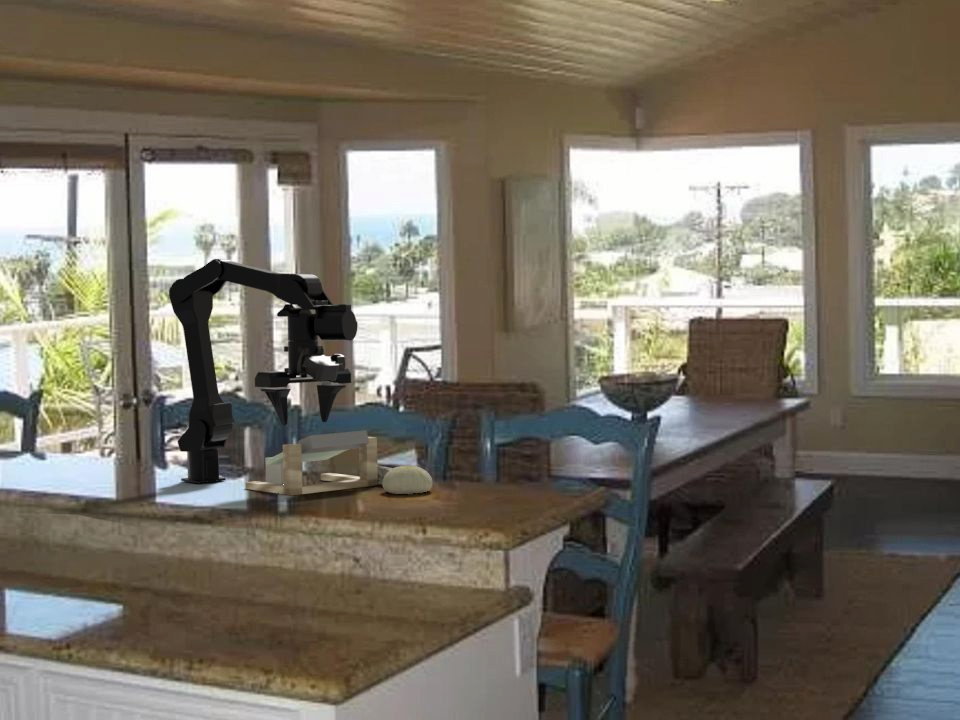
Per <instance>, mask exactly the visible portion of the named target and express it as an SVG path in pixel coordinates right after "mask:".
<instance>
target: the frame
mask: <svg viewBox="0 0 960 720" xmlns="http://www.w3.org/2000/svg"><path fill="white" fill-rule="evenodd" d="M368 439H369V443H368V444H366V445H364V446H362V447H359V448H358V452H359V454H358V458H359V463H358V464H359V467H358V468H359V476H357V475H351V474H343V473H342V474H341V473H335V472H334V473H333V472H327V473H326V472H325V473H320V480H321V481H324V482H321V483H313V484H305V485H303V462H302V451H301V444H298V443H287V444H282V452H283V482H284V485H280V484H273V483H266V481H258V480H254V481H246V482H245V489H246V490H250V491H251V490H253V491H259V492H265V493H273V494H278V493H279V494H280V495H285V494H286V496H299V495H306V494H314V493H316V494H317V493H321V492H331V491H340V490H348V489H357V488H365V487H373V486H379V485H378V472H377V465H378V437H374V436H368Z"/></svg>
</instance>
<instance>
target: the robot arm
mask: <svg viewBox="0 0 960 720" xmlns="http://www.w3.org/2000/svg"><path fill="white" fill-rule="evenodd" d="M227 282H228V283H233V284H237V285H241V286H245V287H248V288H252V289H256V290H260V291H265V292H268V293H270V294H272V295H273V296H274V297H276V298H277V299H279V300H280V301H283V302H285V304H284V305H283V307H282V308H281V309H280V310H279V311H278V312H277V314H276V316H277V317H278V318H279V317H281V318H283V317H285V318H286V317H287V345H286V346H283V352H284V353H286V352H287V359H288V361H287V362H288V363H287V364H288V367H284V371H278V370H276V371H275V370H274V371H273V370H272V371H271V370H270V371H258V372H257V373H256V375H255V377H254V387H255V388H260V392H264V393H265V395H266V397H267V398H268V399H269V401H270V403H271V404H272V407H273V409H274V411H275V412H276V414H277V417H278V419H279V422H280V423H281V425H282V426H288V418H289V417H288V412H289V411H288V410H289V409H288V398H289V394H290V392H291V391H292V390H291V388H287V387H288V385H290V384H300V383H301V384H303V383H316V382H317V383H318V382H319V383H321V384H316V389H317V390H316V391H317V398H318V405H319V414H320V419H321V423H327V422H328V419H329V416H330V413H331V410H332V407H333V404H334V401H335V399H336V397H337V395H338V393H339V392H341V391H342V389H346V387H347V385H346V384H352V381H353V380H352V379H353V376H352V373H351V371H350V369H349V368H346V357H345V355H343V354H341V353H334V354H332V355H331V356H326V355H325V352H324V351H325V349H324V347H323V345H319V339H320V340H321V341H324V342H325V341H326V342H327V341H328V342H329V341H331V342H334V341H335V342H338V341H340V342H341V341H343V342H344V341H345V342H348V341H349V342H351V341H353V340H354V339H355V337H356V335H357V333H358V327H359V326H358V325H359V324H358V321H357V318H356V316H355V313H354V311H352V304H350V303H347V304H346V303H343V304H342V303H341V304H336V305H334V304H333V302H332V301H331V299H330V298H329V297H328V295H327V293H326V292H325V291H324V289H323V286H322V282H321V280H320V278H319V276H317V275H315V274H311V273H287V272H286V273H285V272H278V271H277V272H276V271H272V270H268V269H264V268H261V267H256V266H251V265H247V264H244V263H239V262H236V261H232V260H231V259H228V258H227V259H226V258H214V259H212V260H210V261H209V262H207V263H206V264H205V265H204V266H202V267H200V268H198V269H197V270H194V271H191V273H189V274H187V275H186V276H184V277H183V278H179V279H176V280H175V281H174V282H173V283H172V284H171V286H170V287H169V290H168V296H169V301H170V304H171V307H172V311H173V313H174V315H175V316H176V318H177V319H178V321H179V323H181V325H182V329H183V335H184V343H185V349H186V356H187V362H188V369H189V378H190V384H191V391H192V398H193V399H192V403H191V406H190V408H189V412H188V428H187V429H186V431H185V432H184V433H183V434H182V435H181V437H179V439H177V444H178V445H177V446H178V448H179V451H180V452H186V453H187V454H186V455H187V456H186V457H187V461H186V462H187V463H186V464H187V477H184V478H183V477H182V478H181V479H180V481H181V482H188V483H193V484H203V483H212V482H222V481H227V480H226V479H227V478H226V477H222V476H221V477H220V458H219V449H224V448H225V447H226V444H227V440H228V439H229V436H230V435H231V434H232V432H233V424H235V423H236V422H235V420H234V418H233V406H232V403H231V402H230V401H229V402H224V401H223V399H222V398H221V396H220V394H219V388H218V381H217V375H216V366H215V361H214V353H213V347H212V341H211V334H210V327H209V321H210V318H211V314H212V312H213V309H214V296H216V295H217V294H218V293H220V292H221V291H222V290H223V288H224V286H225V285H226V283H227ZM295 305H297V306H298V307H295ZM312 311H315V313H312Z"/></svg>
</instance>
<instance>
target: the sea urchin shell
mask: <svg viewBox="0 0 960 720" xmlns="http://www.w3.org/2000/svg"><path fill="white" fill-rule="evenodd" d="M382 481H383V482H382V484H383V485H382V487H383V489H384V490H385V492H387V493H390V494H393V495H398V494H408V495H414V494H413V493H423V492H426V493H428V492H429V491H430V490H431V489H432V487H433V478H432V476H431V475H430V473H429V472H428V471H427V470H425V469H423V468H422V467H420V466H417V465H401V466H395V467H393V469H391V470H390V471H389V472H387V473H386V475H385V476H384V478H383V480H382ZM427 491H428V492H427ZM423 494H424V493H423Z"/></svg>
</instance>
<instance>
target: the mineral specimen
mask: <svg viewBox="0 0 960 720" xmlns="http://www.w3.org/2000/svg"><path fill="white" fill-rule="evenodd" d="M393 468H394V467H393ZM393 468H392V467H388V466H383V465H380V464H377V472H378V485H377V486H381V485H382V486H383V484H382V482H383V481H382V480H383V478H384V476H385V475H386V473H387V472H389V471H390V470H391V469H393Z"/></svg>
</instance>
